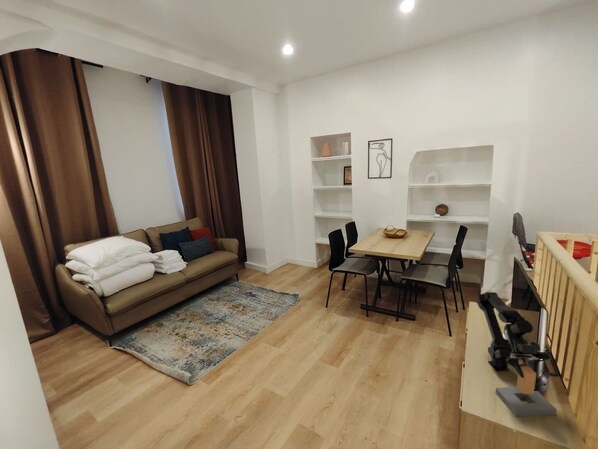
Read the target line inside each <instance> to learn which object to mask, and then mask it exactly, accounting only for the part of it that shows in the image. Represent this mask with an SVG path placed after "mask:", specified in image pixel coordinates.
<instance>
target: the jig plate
mask: <svg viewBox="0 0 598 449" xmlns="http://www.w3.org/2000/svg"><path fill="white" fill-rule="evenodd" d="M495 394H496V395H497V396H498V397H499V399H500V400H501V401H502V402H503V403H504V404H505V405H506V406H507V408H508V409H509V410H510V411H511V413H512V412H513V413H512V414H513V415H514V416H515V417H521V416H522V417H523V416H524V417H525V416H527V417H529V416H545V415H546V416H549V415H550V416H553V415H557V410H558V409H557V408H556V407H555V406H554V405H553V404H552V403H551V402H550V401H549V400H547V398H546V397H545V396H543V394H541V393H540V392H539V391H538V390H537V391H534V394H523V393H522V392H521V391H520V389H519V388H518V387H517V386H508V387H496V388H495ZM523 398H524V399H526V400H527V401H528V402H522V400H521V399H523ZM528 415H529V416H528Z"/></svg>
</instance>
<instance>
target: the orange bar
mask: <svg viewBox="0 0 598 449" xmlns="http://www.w3.org/2000/svg"><path fill="white" fill-rule="evenodd" d="M520 367H521V370H522V373H523V378H521V376H520V375H519V374H518V373H517V383H516V387H518V388H519V389H520V391H521V392H522V393H523V394H534V389H536V388H535V387H536V379H537V378H536V372H534V371H533V370H532V369H531V368H530V367H529V365H528V366H525V365H524V366H522V365H520Z"/></svg>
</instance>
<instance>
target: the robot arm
mask: <svg viewBox="0 0 598 449" xmlns="http://www.w3.org/2000/svg"><path fill="white" fill-rule="evenodd" d="M475 302H476V304H477V306H478V308H479V309H480V310H481V311H482V312H483V314H484V317H485V319H486V323H487V327H488V330H489V332H490V335H491V339H492V340H491V342H490V346H488V347H487V353H488V355H489V356H490V357H491V359H490V360H488V364H489V365H490V366H491V367H492V368H493V369H494V370H495V371H497V372H501V371H510V367H508V363H509V364H510V365H511V366H512V367H513V369H514V370H515V371H516V372H517V375H518V374H519V375H520V376H521V378H523V373H522V370H521V367H520V366H521V365H520V359H519V358H524V359H528V360H527V364H528V366H529V367H530V368H531V369H532V370H533V371H534V372H536V379H537V378H538V377H537V376H538V366H539V363H541V362H546V361H550V360H552V358H551V355H550V353H548V352H546V351H541V347H540V343H539V342H538V341H531V342H530V343H529V342H528V340H527V339H525V337H524V336H525V335H529V334H531V333H532V332H533V330H534V327H533V325H532V324H531V322H530V321H528V320H526V319H525V317H524V316H522V315H521V313H519V312H518V310H517V309H515V308H514V307H511V306H509V305H507V304H506V303H505V301H503V300H502V299H501V297H499V295H498V293H497V292H495V291H486V292H484V293H481V294H478V295H477V296H476V297H475ZM495 310H496V311H497V312H498V313H497V315H496V312H495ZM497 316H498V318H499V320H500V321H501V322H502V323H505V325H504V327H503V330H504V329H505V330H506V332H507V335H508V339H509V340H507V339H505V338H504V337H503V332H502V330H501V326H500V324H499V321H498V318H497ZM540 359H543V360H540Z"/></svg>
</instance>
